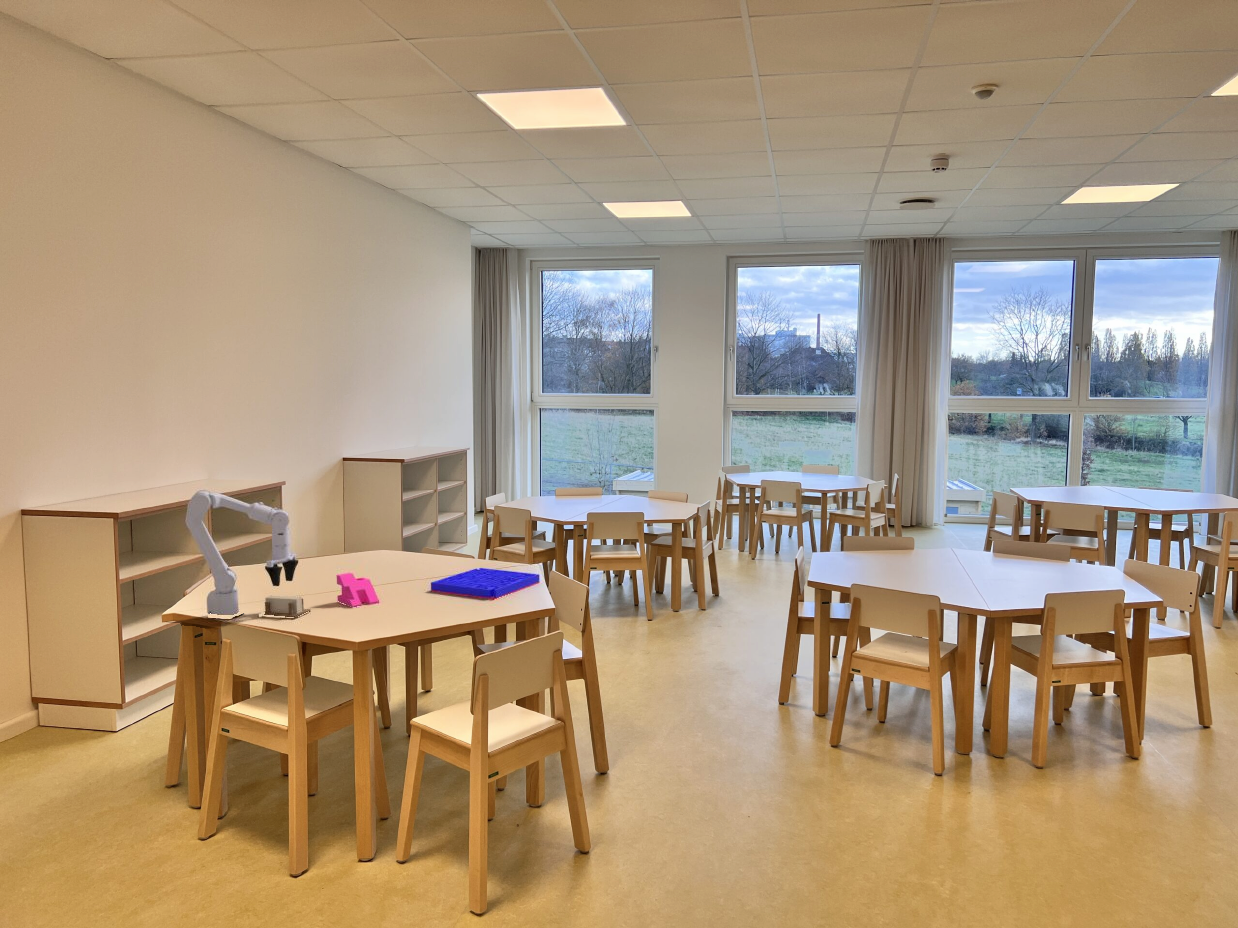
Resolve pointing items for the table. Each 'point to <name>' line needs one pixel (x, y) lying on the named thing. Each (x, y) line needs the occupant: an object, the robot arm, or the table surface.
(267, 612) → the rack
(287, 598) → the beige rectangular block
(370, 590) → the bracket
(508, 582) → the maze
